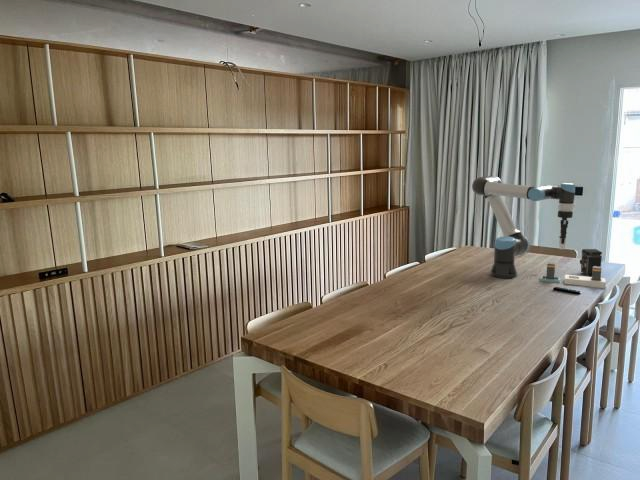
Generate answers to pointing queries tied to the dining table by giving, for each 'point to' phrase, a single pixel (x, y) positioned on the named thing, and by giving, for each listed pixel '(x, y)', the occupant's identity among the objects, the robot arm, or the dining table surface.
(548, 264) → the plug
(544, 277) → the tray
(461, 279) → the dining table surface
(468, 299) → the dining table surface
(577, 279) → the battery charger
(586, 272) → the camera
